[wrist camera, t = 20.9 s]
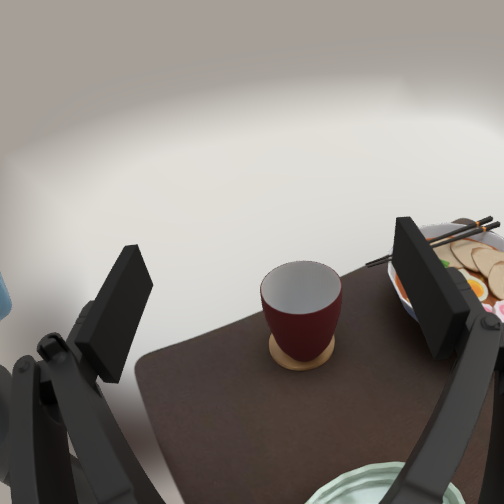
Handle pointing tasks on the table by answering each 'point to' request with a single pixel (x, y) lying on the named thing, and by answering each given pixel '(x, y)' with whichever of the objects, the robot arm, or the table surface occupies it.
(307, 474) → the table surface
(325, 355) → the coaster
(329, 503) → the serving bowl
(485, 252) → the ramen bowl
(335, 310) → the mug
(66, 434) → the robot arm
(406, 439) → the table surface
